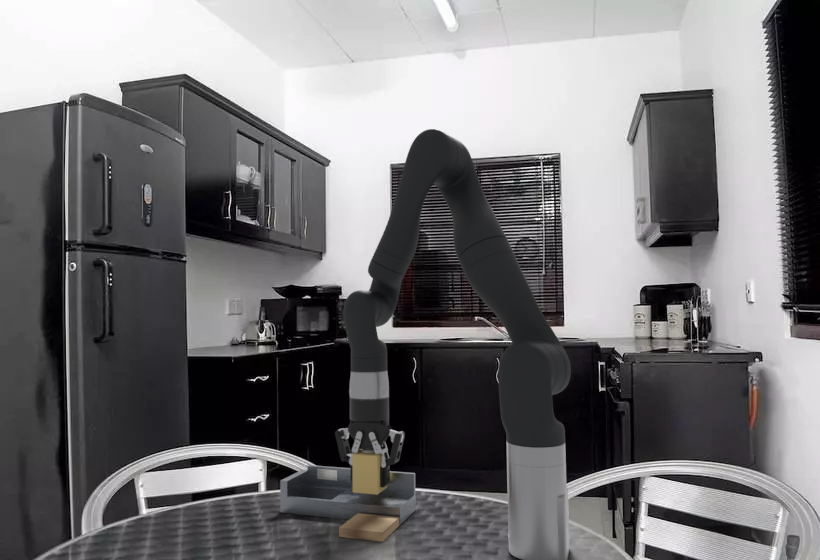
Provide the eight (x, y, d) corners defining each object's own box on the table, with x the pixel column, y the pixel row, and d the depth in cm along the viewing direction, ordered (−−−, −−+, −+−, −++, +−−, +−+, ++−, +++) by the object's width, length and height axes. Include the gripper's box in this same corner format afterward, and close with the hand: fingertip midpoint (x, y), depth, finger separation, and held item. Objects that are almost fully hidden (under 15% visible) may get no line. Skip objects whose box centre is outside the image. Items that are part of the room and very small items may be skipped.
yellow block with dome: (387, 487, 117) (386, 447, 117) (377, 494, 112) (377, 452, 112) (363, 485, 118) (363, 445, 119) (352, 492, 114) (352, 451, 114)
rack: (415, 510, 117) (415, 473, 117) (400, 524, 109) (399, 485, 109) (302, 499, 125) (302, 464, 125) (280, 512, 117) (280, 475, 117)
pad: (399, 525, 108) (399, 517, 108) (382, 541, 101) (382, 532, 101) (358, 521, 111) (358, 513, 111) (339, 536, 103) (339, 527, 103)
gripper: (411, 393, 117) (412, 483, 116) (343, 391, 122) (344, 477, 121) (397, 398, 110) (398, 494, 109) (326, 396, 115) (327, 487, 114)
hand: (369, 484), depth 115 cm, fingers closed on yellow block with dome, 4 cm apart
